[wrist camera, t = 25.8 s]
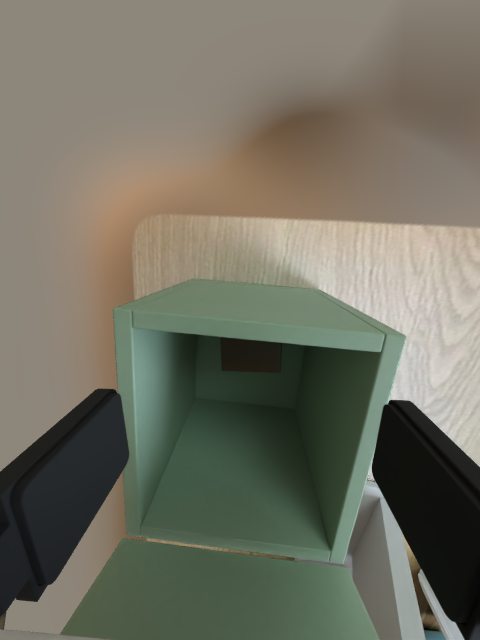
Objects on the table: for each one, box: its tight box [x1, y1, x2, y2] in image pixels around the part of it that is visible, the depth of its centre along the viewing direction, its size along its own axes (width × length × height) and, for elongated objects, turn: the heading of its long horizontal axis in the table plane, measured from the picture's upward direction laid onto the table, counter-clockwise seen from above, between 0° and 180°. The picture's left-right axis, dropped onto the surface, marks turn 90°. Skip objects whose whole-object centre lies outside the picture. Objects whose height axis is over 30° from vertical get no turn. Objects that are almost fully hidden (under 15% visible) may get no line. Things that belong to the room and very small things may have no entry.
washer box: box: [113, 279, 406, 564], centre depth 17 cm, size 13×12×13 cm
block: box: [221, 337, 282, 373], centre depth 20 cm, size 4×4×4 cm
